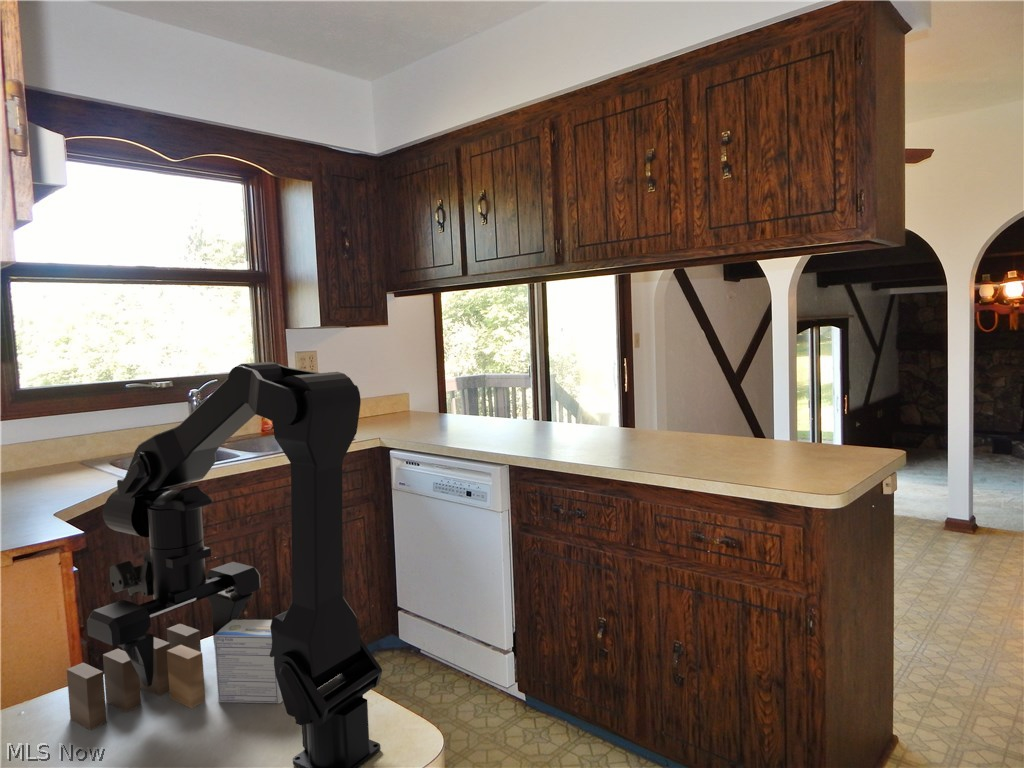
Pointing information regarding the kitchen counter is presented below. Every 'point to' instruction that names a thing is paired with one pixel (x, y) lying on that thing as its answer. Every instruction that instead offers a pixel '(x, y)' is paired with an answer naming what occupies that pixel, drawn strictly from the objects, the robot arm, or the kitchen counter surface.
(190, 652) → the domino
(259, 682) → the medicine box
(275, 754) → the kitchen counter surface
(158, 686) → the domino
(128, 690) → the domino
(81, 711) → the domino
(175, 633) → the domino
